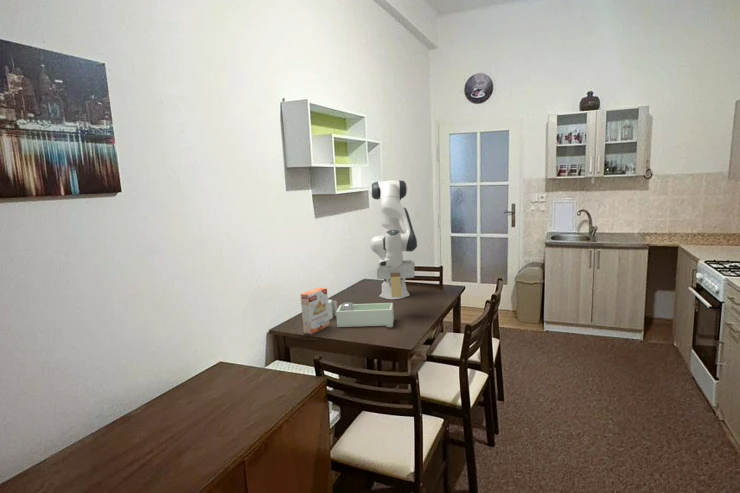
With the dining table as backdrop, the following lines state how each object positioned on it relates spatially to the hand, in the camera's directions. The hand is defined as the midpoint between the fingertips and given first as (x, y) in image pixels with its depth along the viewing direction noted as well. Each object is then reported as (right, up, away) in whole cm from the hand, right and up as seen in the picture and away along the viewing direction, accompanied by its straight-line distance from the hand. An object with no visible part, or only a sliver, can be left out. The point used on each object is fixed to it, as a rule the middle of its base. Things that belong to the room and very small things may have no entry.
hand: (396, 286), depth 236 cm
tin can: (-25, -18, -7) cm, 32 cm away
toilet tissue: (-39, -19, +5) cm, 43 cm away
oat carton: (0, -5, +1) cm, 5 cm away
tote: (-16, -19, -8) cm, 26 cm away
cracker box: (-41, -22, -13) cm, 48 cm away
